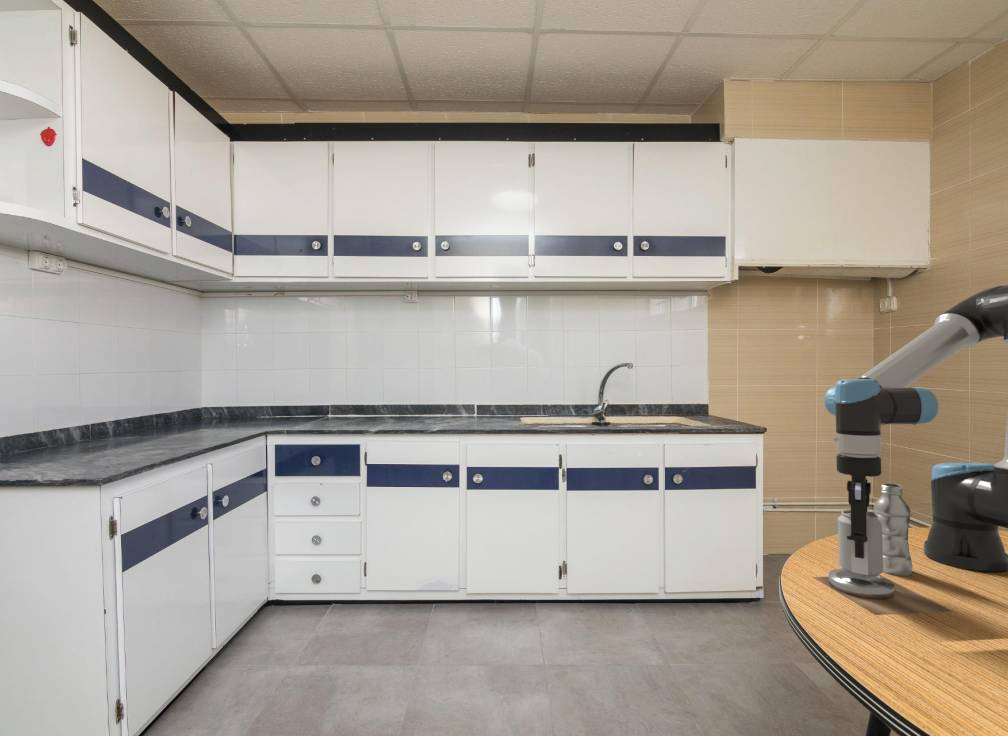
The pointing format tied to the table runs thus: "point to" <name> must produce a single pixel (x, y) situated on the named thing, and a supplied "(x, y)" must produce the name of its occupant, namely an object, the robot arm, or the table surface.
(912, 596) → the board
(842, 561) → the can
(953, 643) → the table surface
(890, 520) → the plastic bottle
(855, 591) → the grey hollow ring
